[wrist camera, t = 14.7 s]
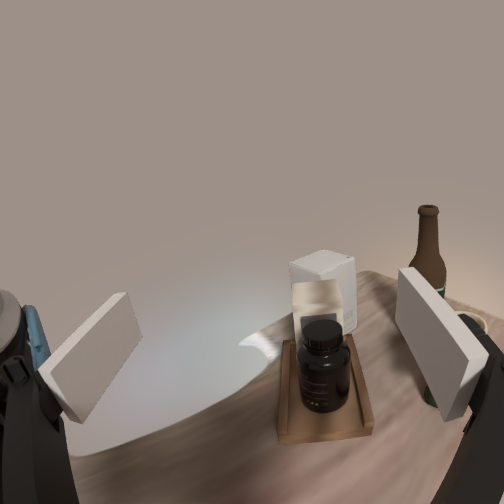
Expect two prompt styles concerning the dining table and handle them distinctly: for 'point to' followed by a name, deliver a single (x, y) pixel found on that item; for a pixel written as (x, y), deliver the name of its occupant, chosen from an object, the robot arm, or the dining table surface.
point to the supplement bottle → (323, 366)
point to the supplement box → (327, 268)
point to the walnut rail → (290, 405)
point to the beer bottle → (429, 250)
